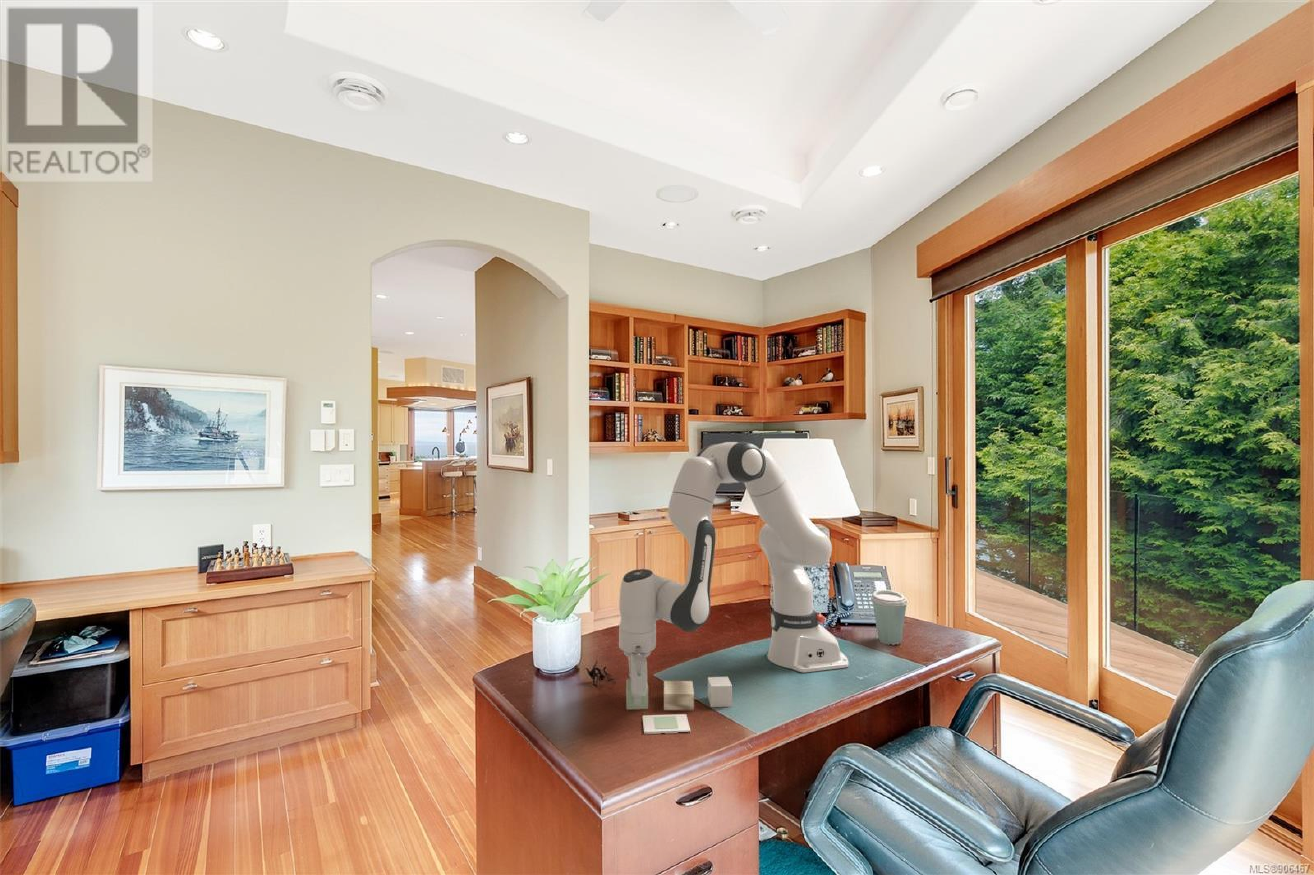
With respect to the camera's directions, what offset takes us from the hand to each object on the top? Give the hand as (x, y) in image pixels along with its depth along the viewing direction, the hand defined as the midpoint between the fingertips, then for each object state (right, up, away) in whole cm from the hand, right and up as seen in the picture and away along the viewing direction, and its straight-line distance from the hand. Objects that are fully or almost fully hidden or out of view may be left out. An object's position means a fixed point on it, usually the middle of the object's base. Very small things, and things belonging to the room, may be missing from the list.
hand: (637, 697), depth 132 cm
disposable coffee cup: (+78, -3, +42) cm, 89 cm away
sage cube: (0, -2, 0) cm, 2 cm away
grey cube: (+20, -2, +2) cm, 20 cm away
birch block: (+10, -2, +1) cm, 10 cm away
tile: (+7, -2, -10) cm, 12 cm away
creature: (-9, -2, +11) cm, 14 cm away
